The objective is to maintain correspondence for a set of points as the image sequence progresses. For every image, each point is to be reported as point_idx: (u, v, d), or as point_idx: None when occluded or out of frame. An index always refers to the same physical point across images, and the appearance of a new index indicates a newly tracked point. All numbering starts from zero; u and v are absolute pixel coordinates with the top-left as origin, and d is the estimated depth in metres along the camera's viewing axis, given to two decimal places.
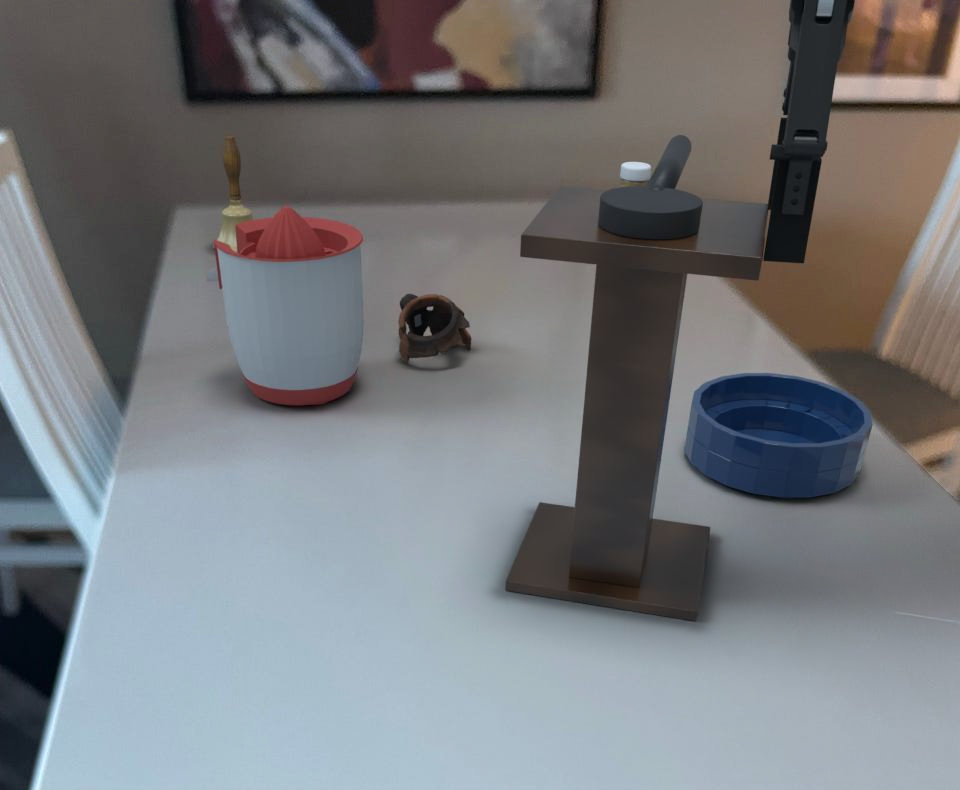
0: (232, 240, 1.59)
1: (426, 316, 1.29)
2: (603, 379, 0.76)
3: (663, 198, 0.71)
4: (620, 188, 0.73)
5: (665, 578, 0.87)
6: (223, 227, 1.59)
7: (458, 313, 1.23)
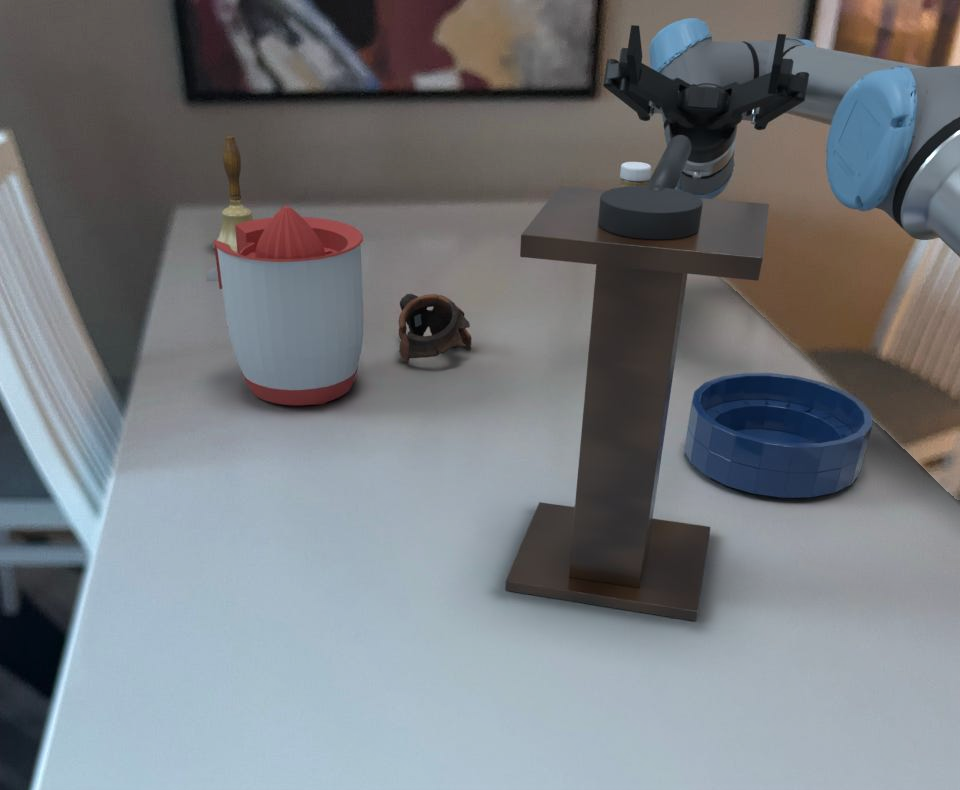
0: (232, 240, 1.59)
1: (426, 316, 1.29)
2: (603, 379, 0.76)
3: (663, 198, 0.71)
4: (620, 188, 0.73)
5: (665, 578, 0.87)
6: (223, 227, 1.59)
7: (458, 313, 1.23)
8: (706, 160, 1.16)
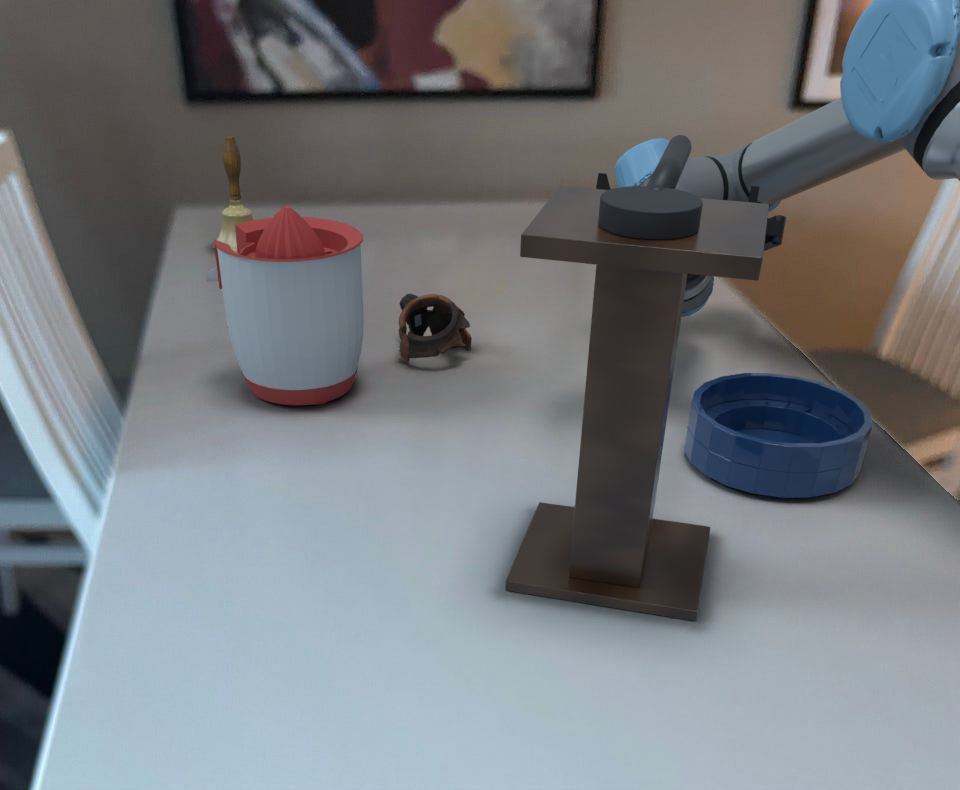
0: (232, 240, 1.59)
1: (426, 316, 1.29)
2: (603, 379, 0.76)
3: (663, 198, 0.71)
4: (620, 188, 0.73)
5: (665, 578, 0.87)
6: (223, 227, 1.59)
7: (458, 313, 1.23)
8: None
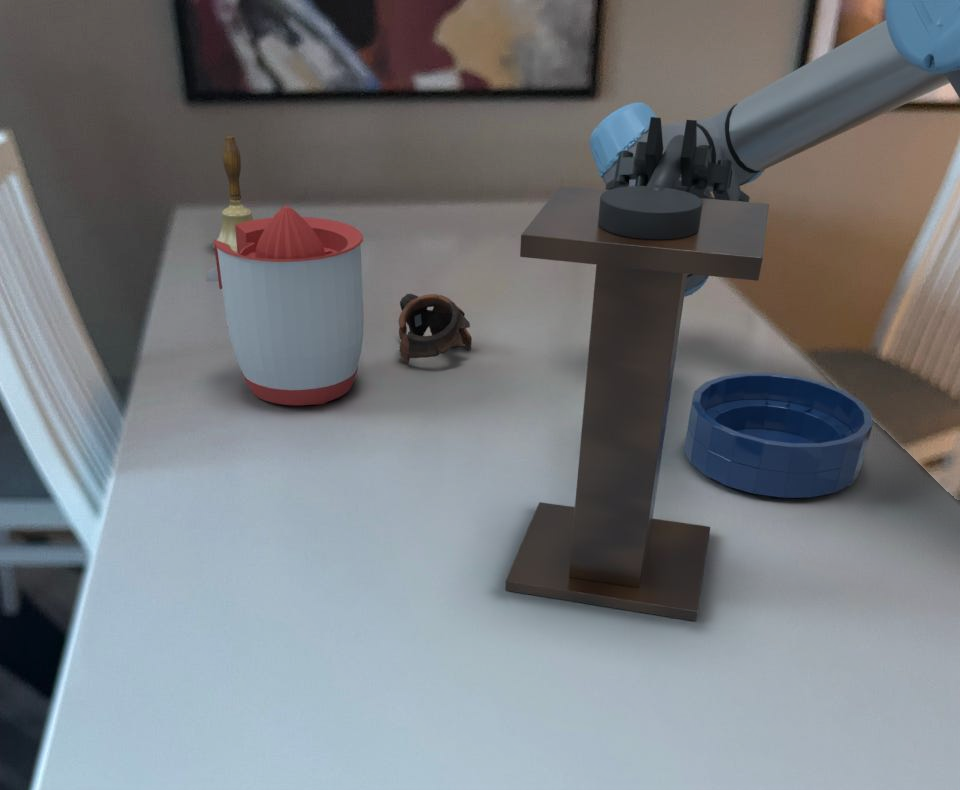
0: (232, 240, 1.59)
1: (426, 316, 1.29)
2: (603, 379, 0.76)
3: (663, 198, 0.71)
4: (620, 188, 0.73)
5: (665, 578, 0.87)
6: (223, 227, 1.59)
7: (458, 313, 1.23)
8: None
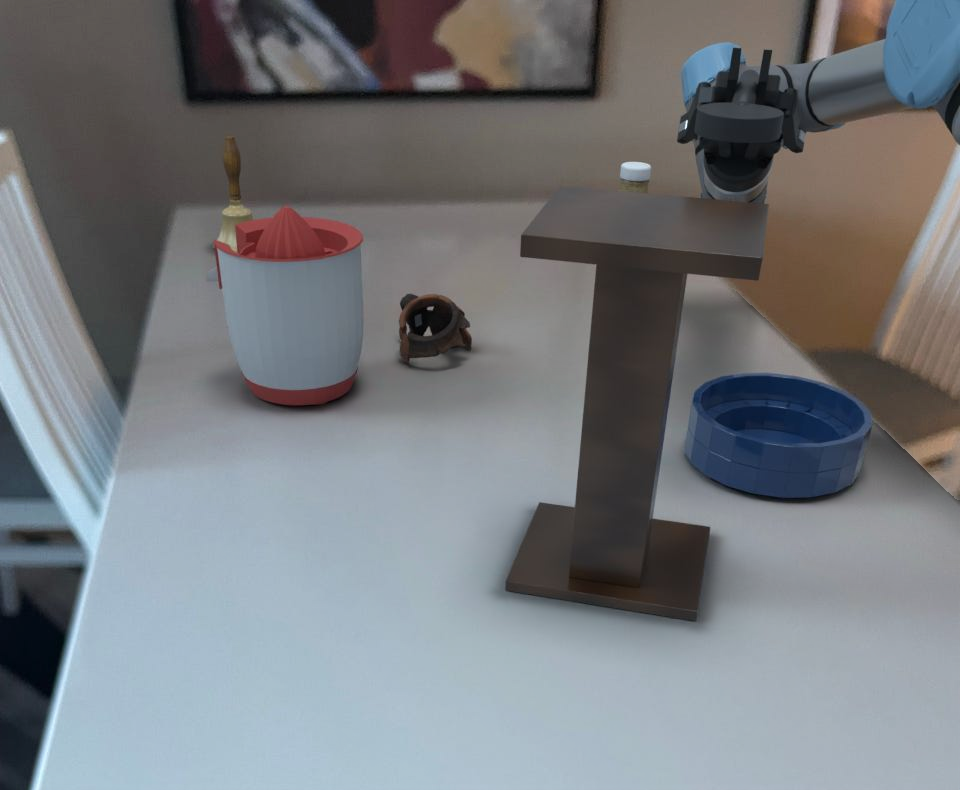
0: (232, 240, 1.59)
1: (426, 316, 1.29)
2: (603, 379, 0.76)
3: (750, 110, 0.85)
4: (712, 103, 0.87)
5: (665, 578, 0.87)
6: (223, 227, 1.59)
7: (458, 313, 1.23)
8: (742, 189, 1.13)
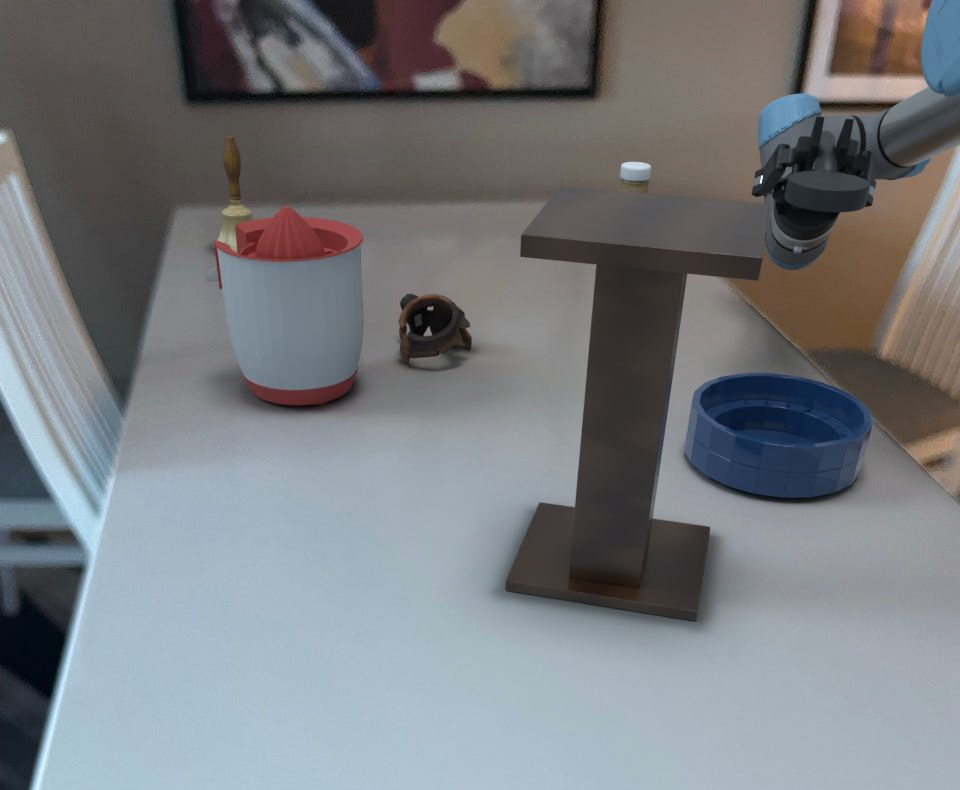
0: (232, 240, 1.59)
1: (426, 316, 1.29)
2: (603, 379, 0.76)
3: (838, 180, 0.91)
4: (801, 172, 0.93)
5: (665, 578, 0.87)
6: (223, 227, 1.59)
7: (458, 313, 1.23)
8: (810, 238, 1.19)
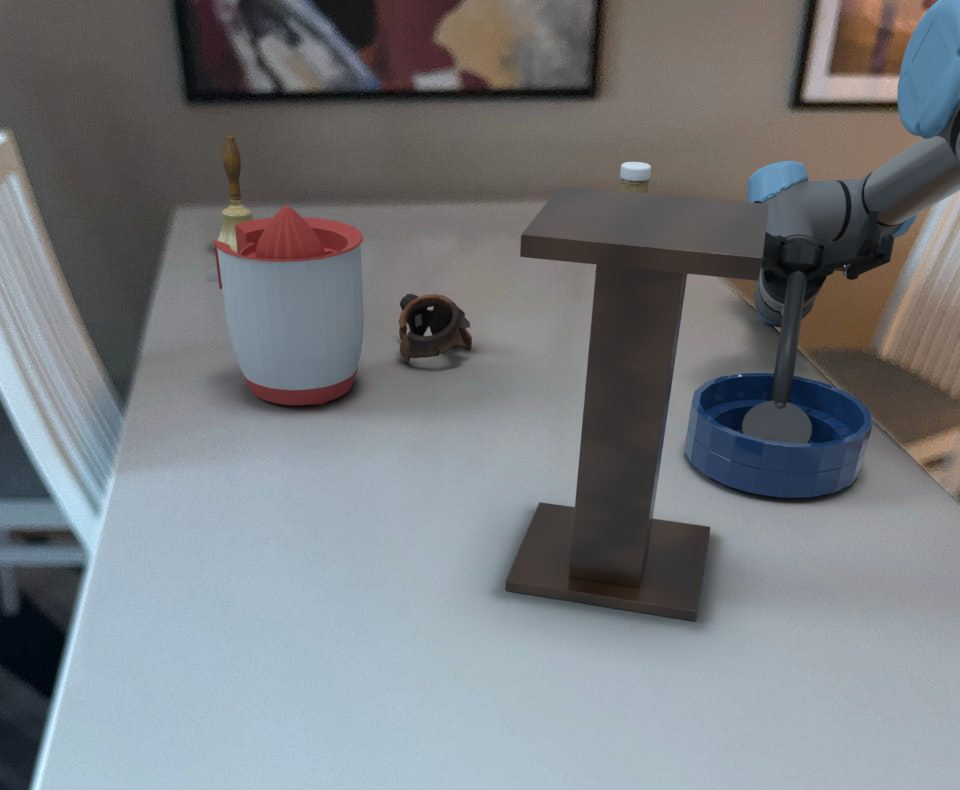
0: (232, 240, 1.59)
1: (426, 316, 1.29)
2: (603, 379, 0.76)
3: (785, 426, 1.05)
4: (755, 408, 1.06)
5: (665, 578, 0.87)
6: (223, 227, 1.59)
7: (459, 313, 1.23)
8: None
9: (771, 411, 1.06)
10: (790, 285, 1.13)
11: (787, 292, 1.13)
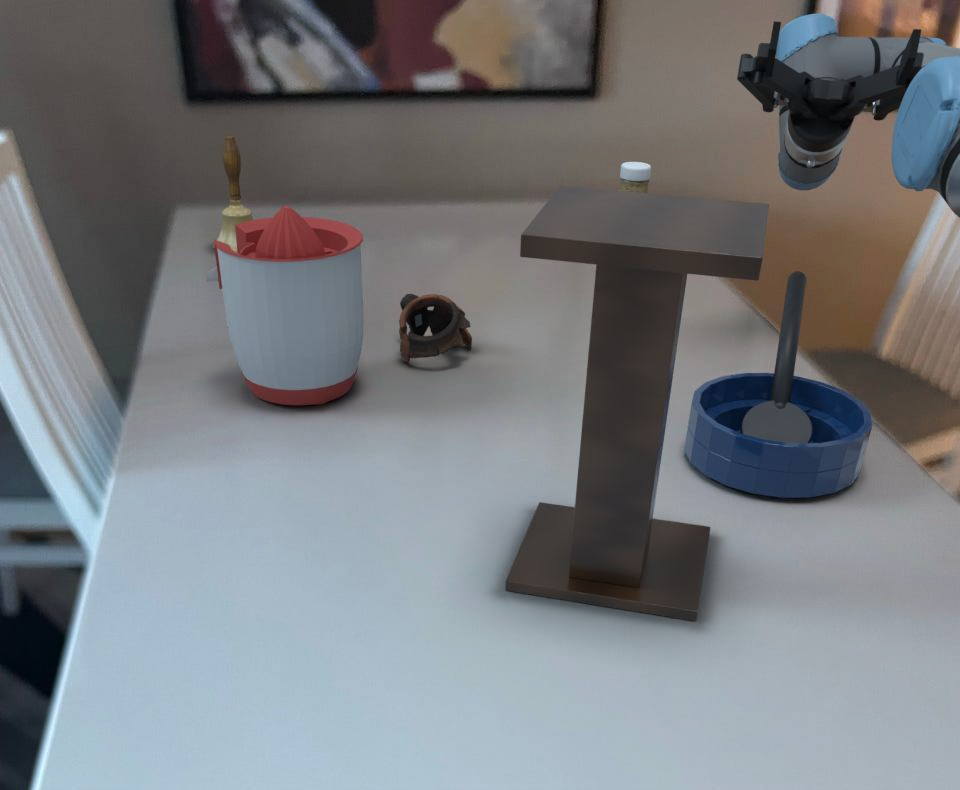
0: (232, 240, 1.59)
1: (426, 316, 1.29)
2: (603, 379, 0.76)
3: (785, 426, 1.05)
4: (755, 408, 1.06)
5: (665, 578, 0.87)
6: (223, 227, 1.59)
7: (459, 313, 1.23)
8: (823, 149, 1.24)
9: (771, 411, 1.06)
10: (790, 285, 1.13)
11: (787, 292, 1.13)
